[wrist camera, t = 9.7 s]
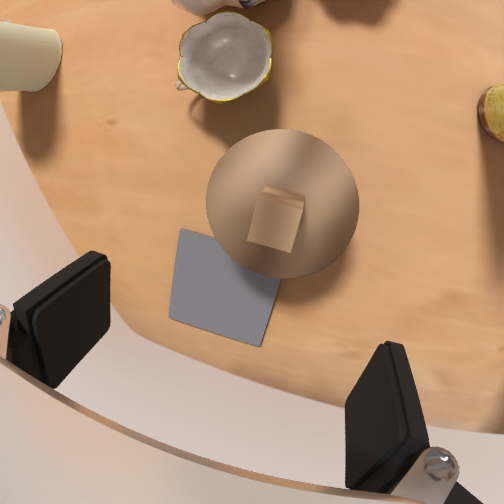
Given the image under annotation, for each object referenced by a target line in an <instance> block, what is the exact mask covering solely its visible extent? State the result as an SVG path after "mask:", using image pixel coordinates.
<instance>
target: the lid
mask: <svg viewBox="0 0 504 504" xmlns="http://www.w3.org/2000/svg"><path fill="white" fill-rule="evenodd" d="M206 210H207V217H208V220H209V224H210V227H211V229H212V232H213V234H214V236H215V238H216V240H217V241H218V243H219V244H220V246H221V247H222V248H223V250H224V251H225V252H226V253H227V254H228V255H229V256H230V257H231V258H232V259H233V260H235V261H236V262H237V263H238V264H240V265H241V266H243V267H245V268H246V269H248V270H250V271H252V272H255V273H257V274H260V275H263V276H268V277H272V278H296V277H302V276H306V275H309V274H312V273H314V272H317V271H319V270H321V269H323V268H324V267H326V266H328V265H329V264H330V263H332V262H333V261H334V260H335V259H336V258H337V257H338V256H339V255H340V254H341V253H342V252H343V251H344V249H345V248H346V247H347V245H348V244H349V242H350V240H351V238H352V236H353V234H354V231H355V229H356V225H357V222H358V216H359V196H358V190H357V186H356V183H355V180H354V177H353V175H352V173H351V171H350V169H349V168H348V166H347V164H346V163H345V161H344V160H343V159H342V158H341V157H340V155H339V154H338V153H337V152H336V151H335V150H334V149H332V148H331V147H330V146H329V145H328V144H326V143H325V142H323V141H322V140H320V139H318V138H316V137H314V136H312V135H310V134H307V133H304V132H301V131H296V130H289V129H274V130H266V131H262V132H258V133H255V134H252V135H250V136H248V137H246V138H244V139H242V140H240V141H239V142H237V143H236V144H235V145H233V146H232V147H231V148H230V149H229V150H228V151H227V152H226V153H225V154H224V155H223V156H222V157H221V159H220V160H219V161H218V163H217V165H216V166H215V168H214V170H213V172H212V174H211V177H210V180H209V183H208V187H207V194H206Z"/></svg>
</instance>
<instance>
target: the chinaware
mask: <svg viewBox="0 0 504 504" xmlns="http://www.w3.org/2000/svg"><path fill="white" fill-rule="evenodd" d="M265 1H267V0H172V2H173V4H174V5H175V6H177V7H178V8H180V9H182V10H184V11H186V12H189V13H191V14H193V15H196V16H203V15H207V14H209V13H211V12H213V11H215V10H217V9H219V8H221V7H223V6H229V7H236V8H243V9H249V8H251V7H253V6H255V5H258V4H261V3H263V2H265ZM206 21H207V22H201V23H198V24H196V25H193V26H192V27H190V28H189V29H188V30H187V31H186V32H184V33H183V35H182V38H181V41H180V45H179V50H180V56H181V57H182V58H179V62H178V66H177V71H178V79H179V81H177V82H176V84H175V87H176V89H177V90H186V89H190V90H192V91H194V92H196V93H200V94H199V95H201V96H202V97H204V98H205V99H207V100H209V101H212V102H214V103H216V104H223V103H225V102H229V101H233V100H235V99H237V98H239V97H241V96H243V95H244V94H247V93H249V92H251V91H253V90H255V89H257V88H258V87H260V86H261V85H262V84H264V83H266V81H267V80H268V78H269V74H270V71H271V65H272V58H271V57H272V54H273V41H272V34H271V32H270V31H269V30H268V29H266V28H265V27H264V26H263V25H262V24H260V23H258V22H255V21H253V20H252V21H250V19H249V18H247V17H246V16H244V15H243V14H241V13H238V12H234V11H231V10H225V11H222V12H219V13H216V14H214V15H212V16H211V17H210V18H209V19H207V20H206ZM182 83H183V84H184V86H180V85H181V84H182Z"/></svg>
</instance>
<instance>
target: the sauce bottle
mask: <svg viewBox="0 0 504 504" xmlns="http://www.w3.org/2000/svg"><path fill="white" fill-rule="evenodd" d="M478 110H479V111H478V112H479V117H480V121H481V123H482V125H483V127H484V129H485V130H486V131H487V133H488V134H489V135H490V136H492V137H493V138H495V139H498V140H501V141H503V142H504V84H500V85H495V86H492V87H489V88H488V89H486V90H485V91H484V92H483V94H482V96H481V97H480V99H479V105H478Z"/></svg>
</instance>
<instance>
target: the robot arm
mask: <svg viewBox="0 0 504 504" xmlns="http://www.w3.org/2000/svg"><path fill="white" fill-rule="evenodd" d="M110 269H111V265H110V262H109V261H108V259H107V256H106V255H104V254H101V253H98V252H95V251H89V252H88V253H86V254H85V255H83V256H82V257H80V258H78V259H77V260H76V261H74V262H72V263H71V264H69V265H68V266H66V267H65V268H63V269H62V270H60V271H59V272H58V273H56V274H54V275H53V276H52V277H50V278H49V279H47V280H46V281H44V282H43V283H42V284H40V285H39V286H37V287H36V288H34V289H33V290H31V291H30V292H29V293H27V294H26V295H25V296H23V297H22V298H20V299H19V300H18V301H16V302H15V303H14V304H13V307H14V310H13V311H12V312H10V311H9V309H8V308H7V307H6V306H4V305H1V304H0V504H483V503H482V502H481V501H479V500H478V499H477V498H476V497H475V496H473V495H472V494H471V493H470V492H469V491H467V490H466V489H465V488H464V487H463V486H462V485H460V484H459V483H458V482H457V481H456V480H457V478H458V475H459V466H458V463H457V461H456V459H455V457H454V456H453V455H452V454H451V453H450V452H449V451H447V450H445V449H443V448H440V447H430V445H429V438H428V433H427V429H426V425H425V420H424V416H423V412H422V408H421V404H420V400H419V397H418V393H417V389H416V386H415V382H414V379H413V375H412V372H411V368H410V365H409V361H408V358H407V355H406V352H405V348H404V346H403V345H402V344H399V343H395V342H391V341H386V342H385V343H384V344H380V345H379V346H378V347H377V349H376V351H375V352H374V354H373V356H372V358H371V359H370V361H369V363H368V365H367V366H366V368H365V370H364V371H363V373H362V375H361V376H360V378H359V380H358V381H357V383H356V385H355V386H354V388H353V390H352V391H351V393H350V394H349V396H348V398H347V400H346V403H345V435H346V438H345V439H346V471H345V472H346V473H345V486H346V488H349V489H341V488H334V487H327V486H321V485H314V484H309V483H303V482H297V481H292V480H287V479H282V478H277V477H273V476H268V475H264V474H260V473H256V472H252V471H248V470H244V469H241V468H237V467H233V466H230V465H226V464H223V463H220V462H216V461H213V460H210V459H207V458H203V457H201V456H197V455H195V454H192V453H189V452H186V451H183V450H180V449H178V448H175V447H172V446H169V445H167V444H164V443H162V442H159V441H157V440H154V439H152V438H149V437H147V436H145V435H142V434H140V433H138V432H135V431H133V430H131V429H128V428H126V427H124V426H122V425H120V424H117V423H116V422H113V421H111V420H109V419H107V418H105V417H103V416H101V415H99V414H97V413H95V412H93V411H91V410H89V409H87V408H85V407H83V406H82V405H80V404H78V403H76V402H74V401H73V400H71V399H69V398H67V397H65V396H64V395H62V394H60V393H59V392H57V391H55V390H54V389H55V388H57V387H58V386H59V385H60V383H61V382H62V381H63V380H64V379H65V378H66V376H67V375H68V374H69V373H70V372H71V371H72V370H73V369H74V368H75V366H76V365H77V364H78V363H79V362H80V361H81V360H82V359H83V358H84V356H85V355H86V354H87V353H88V352H89V351H90V350H91V349H92V348H93V347H94V345H95V344H96V343H97V342H98V341H99V340H100V339H101V338H102V337H103V335H104V334H105V333H106V332H107V331H108V329H109V327H110V322H111V321H110ZM52 388H53V389H52Z"/></svg>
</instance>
